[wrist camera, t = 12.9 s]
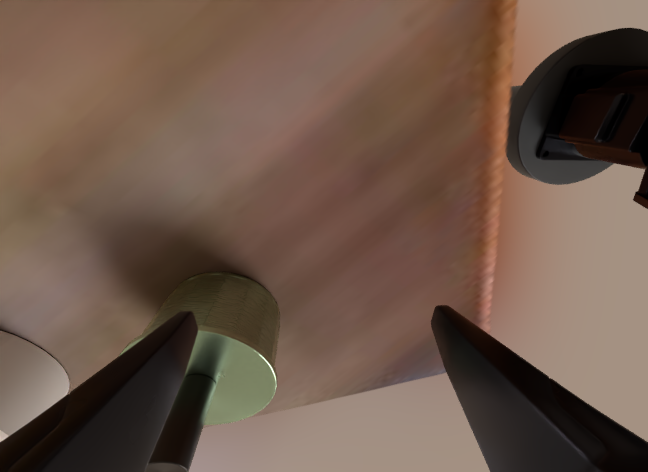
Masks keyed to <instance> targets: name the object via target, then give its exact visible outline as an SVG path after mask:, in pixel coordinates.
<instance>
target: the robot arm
mask: <svg viewBox="0 0 648 472" xmlns="http://www.w3.org/2000/svg"><path fill="white" fill-rule="evenodd" d="M577 71H578V74H577V76H576V72H577ZM544 152H545V154H544V155H543V153H544ZM536 158H537V159H541V160H579V161H606V162H611V163H616V164H621V165H626V166H631V167H636V168H641V169H645V172H644V175H643V179H642V181H641V184H640V187H639V190H638V191H637V192H636V193H635V196H634V199H633V200H634V201H635V202H637V203H638V204H640V205H642V206H643V207H645V208H647V209H648V66H620V65H591V64H581V65H575V66H574V67H572V68H571V69H570V70H569V72H568V74H567V77H566V79H565V82H564V84H563V87H562V89H561V92H560V94H559V97H558V99H557V102H556V104H555V107H554V109H553V112H552V114H551V117H550V119H549V122H548V124H547V127H546V129H545V132H544V134H543V137H542V139H541V142H540V144H539V147H538V149H537V152H536ZM431 327H432V330H433V333H434V336H435V339H436V342H437V346H438V349H439V352H440V355H441V358H442V361H443V364H444V367H445V369H446V372H447V374H448V376H449V379H450V381H451V383H452V385H453V388H454V390H455V392H456V394H457V397H458V399H459V401H460V403H461V406H462V408H463V410H464V413H465V415H466V417H467V419H468V422H469V424H470V426H471V429H472V431H473V433H474V435H475V438H476V440H477V442H478V445H479V447H480V449H481V451H482V454H483V456H484V458H485V460H486V463H487V465H488V467H489V470H490V472H648V442H646V441H645V440H644V439H642V438H640V437H639V436H637V435H635V434H634V433H633V432H631V431H629V430H628V429H626V428H625V427H623V426H621V425H620V424H618V423H617V422H615V421H614V420H612V419H610V418H609V417H607V416H606V415H604V414H603V413H601V412H600V411H598V410H597V409H595V408H594V407H592V406H590V405H589V404H587V403H586V402H584V401H583V400H582V399H580V398H579V397H577V396H575V395H574V394H573V393H571V392H570V391H568V390H567V389H565V388H564V387H563V386H561V385H560V384H558V383H557V382H556V381H554V380H553V379H551V378H550V379H549V377H548V376H547V375H546V374H544V373H543V372H541V371H540V370H538V369H537V368H536V367H534V366H533V365H531V364H530V363H528V362H527V361H526V360H524V359H523V358H521V357H520V356H519V355H517V354H516V353H514V352H513V351H511V350H510V349H509V348H507V347H506V346H505V345H503V344H502V343H500V342H499V341H497V340H496V339H495V338H493V337H492V336H490V335H489V334H488V333H486V332H485V331H483V330H482V329H480V328H479V327H478V326H476V325H475V324H473V323H472V322H471V321H469V320H468V319H466V318H465V317H463V316H462V315H461V314H459V313H458V312H456V311H455V310H454V309H452V308H451V307H449V306H447V305H438V306H436V307H435V310H434V313H433V317H432V320H431ZM197 334H198V325H197V322H196V319H195V316H194V313H193V312H192V311H180V312H178V313H177V314H176V315H174V316H173V317H171V318H170V319H169V320H167V321H166V322H165V323H163V324H162V325H161V326H159V327H158V328H157V329H155V330H154V331H153V332H151V333H150V334H149V335H147V336H146V337H144V338H143V339H142V340H140V341H139V342H138V343H136V344H135V345H134V346H132V347H131V348H130V349H128V350H127V351H126V352H124V353H123V354H121V355H120V356H119V357H117V358H116V359H115V360H113V361H112V362H111V363H109V364H108V365H107V366H105V367H104V368H103V369H101V370H100V371H99V372H97V373H96V374H94V375H93V376H92V377H90V378H89V379H88V380H86V381H85V382H84V383H82V384H81V385H80V386H78V387H77V388H76V389H74V390H73V391H71V392H70V395H69V394H68V395H66V396H65V397H63V398H62V399H61V400H59V401H58V402H56V403H55V404H54V405H52V406H51V407H50V408H48V409H47V410H45V411H44V412H43V413H41V414H40V415H39V416H37V417H36V418H34V419H33V420H32V421H30V422H29V423H27V424H26V425H25V426H23V427H22V428H20V429H19V430H17V431H16V432H14V433H13V434H11V435H10V436H8V437H7V438H6V439H4V440H3V441H1V442H0V472H145V470H146V467H147V465H148V463H149V460H150V458H151V455H152V453H153V451H154V448H155V446H156V443H157V441H158V439H159V436H160V434H161V431H162V429H163V427H164V424H165V422H166V420H167V417H168V415H169V412H170V410H171V408H172V405H173V403H174V400H175V398H176V396H177V393H178V391H179V388H180V386H181V384H182V381H183V379H184V376H185V373H186V370H187V367H188V364H189V360H190V357H191V354H192V350H193V347H194V344H195V340H196V337H197Z"/></svg>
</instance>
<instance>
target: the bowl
mask: <svg viewBox="0 0 648 472" xmlns="http://www.w3.org/2000/svg"><path fill="white" fill-rule="evenodd" d="M69 384H70V383H69V379H68V375H67V374H66V372H65V370H64V369H63V367H62V366H61V365H60V364H59V363H58V362H57V361H56V360H55V359H54V358H53V357H52V356H50V355H49V354H48V353H47V352H45V351H44V350H42V349H40V348H39V347H37V346H35V345H34V344H32V343H30V342H28V341H26V340H24V339H22V338H19V337H17V336H15V335H12V334H9V333H6V332H3V331H0V442H1V441H3V440H4V439H6V438H7V437H8V436H10V435H11V434H13V433H14V432H16V431H17V430H19V429H20V428H22V427H23V426H25V425H26V424H27V423H29V422H30V421H32V420H33V419H34V418H36V417H37V416H39V415H40V414H41V413H43V412H44V411H45V410H47V409H48V408H50V407H51V406H52V405H54V404H55V403H56V402H58V401H59V400H61V399H62V398H63V397H65V396H66V395H67V393H68V391H69Z"/></svg>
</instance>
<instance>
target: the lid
mask: <svg viewBox="0 0 648 472" xmlns="http://www.w3.org/2000/svg"><path fill="white" fill-rule="evenodd" d="M154 330H155V329H153V330H150V331H148V332H146V333H143V334H141V335H140V336H138V337H137V338H135V339H134V340H132V341H131V342H130V343H129V344H128V345H127V346H126V347H125V349H124V350H123V351H122V353H121V354H123V353H124V352H126V351H127V350H128V349H130V348H131V347H132V346H134V345H135V344H136V343H138V342H139V341H140V340H142V339H143V338H144V337H146V336H147V335H149V334H150V333H151V332H153V331H154ZM121 354H120V355H121ZM276 386H277V373H276V369H275V367H274V364H273V362H272V361H271V359H270V358H269V356H268V355H267V354H266V353H265V352H264V351H263V350H262V349H261V348H260V347H258V346H257V345H256V344H254V343H253V342H251V341H250V340H248V339H246V338H244V337H242V336H240V335H238V334H235V333H233V332H230V331H227V330H224V329H220V328H216V327H211V326H204V325H198V334H197V337H196V340H195V344H194V347H193V350H192V354H191V357H190V360H189V364H188V367H187V370H186V373H185V376H184V379H183V381H182V384H181V386H180V388H179V391H178V393H177V396H176V398H175V400H174V403H173V405H172V408H171V410H170V412H169V415H168V417H167V420H166V422H165V424H164V427H163V429H162V431H161V434H160V436H159V439H158V441H157V443H156V446H155V448H154V451H153V453H152V455H151V458H150V460H149V463H148V465H147V467H146V470H145V472H189V469H190V466H191V462H192V459H193V456H194V453H195V450H196V447H197V444H198V441H199V438H200V435H201V432H202V429H203V426H204V425H217V424H225V423H231V422H236V421H239V420H242V419H245V418H248V417H250V416H252V415H254V414H256V413H258V412H259V411H261V410H262V409H263V408H265V407H266V406H267V405H268V404H269V402H270V401H271V400H272V398H273V396H274V394H275V391H276Z"/></svg>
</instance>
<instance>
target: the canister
mask: <svg viewBox="0 0 648 472" xmlns="http://www.w3.org/2000/svg"><path fill="white" fill-rule="evenodd" d="M180 311H192V312H193V313H194V316H195V319H196V322H197V325H204V326H211V327H216V328H220V329H224V330H227V331H230V332H233V333H235V334H238V335H240V336H242V337H244V338H246V339H248V340H250V341H251V342H253V343H254V344H256V345H257V346H258V347H260V348H261V349H262V350H263V351H264V352H265V353H266V354H267V355H268V356H269V358H270V359H271V361H272V362H273V364H274V366H275V359H276V351H277V343H278V335H279V328H280V313H279V308H278V305H277V303H276V301H275V299H274V298H273V296H272V295H271V294H270V293H269V292H268V291H267V290H266V289H265V288H264V287H263V286H261V285H260V284H258V283H257V282H255V281H253V280H251V279H249V278H247V277H244V276H241V275H238V274H234V273H228V272H208V273H202V274H198V275H195V276H193V277H190V278H188V279H187V280H185V281H183V282H182V283H181V284H180V285H178V286H177V288H176V289H175V290H174V291H173V292H172V293H171V294H170V295H169V297H168V298H167V300H166V301H165V302H164V304H163V305H162V307H161V308H160V309H159V311H158V312H157V313H156V315H155V316H154V318H153V319H152V320H151V322H150V323H149V325H148V326H147V327H146V329H145V330H144V332H143V333H146V332H148V331H150V330H153V329H157V328H158V327H159V326H161V325H162V324H163V323H165V322H166V321H167V320H169V319H170V318H171V317H173V316H174V315H176V314H177V313H178V312H180ZM143 333H142V334H143Z"/></svg>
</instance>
